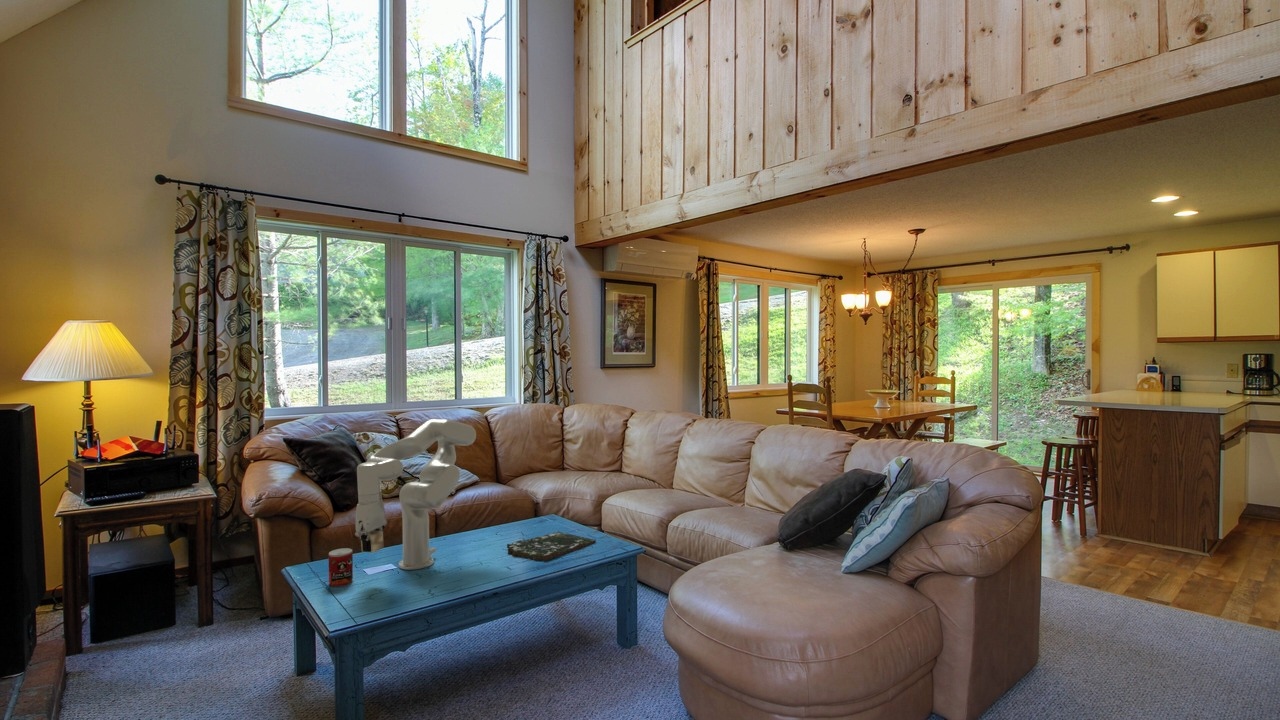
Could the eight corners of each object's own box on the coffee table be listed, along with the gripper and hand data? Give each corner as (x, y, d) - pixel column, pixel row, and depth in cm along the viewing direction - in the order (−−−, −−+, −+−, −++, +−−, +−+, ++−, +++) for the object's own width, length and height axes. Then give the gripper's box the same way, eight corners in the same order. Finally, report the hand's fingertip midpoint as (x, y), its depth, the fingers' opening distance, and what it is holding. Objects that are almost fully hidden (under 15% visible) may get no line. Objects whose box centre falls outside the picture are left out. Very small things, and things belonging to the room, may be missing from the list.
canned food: (329, 588, 209) (329, 556, 209) (327, 581, 216) (327, 550, 216) (354, 583, 213) (353, 552, 213) (351, 577, 220) (351, 546, 220)
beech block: (371, 546, 217) (371, 530, 217) (383, 547, 216) (382, 531, 215) (361, 551, 212) (360, 534, 212) (373, 552, 211) (372, 535, 211)
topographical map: (595, 543, 258) (595, 536, 258) (539, 565, 232) (539, 557, 232) (552, 533, 273) (552, 527, 273) (495, 552, 247) (495, 545, 247)
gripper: (378, 491, 222) (380, 539, 223) (343, 503, 206) (345, 556, 207) (395, 492, 220) (397, 541, 221) (361, 505, 204) (363, 558, 205)
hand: (372, 548), depth 214 cm, fingers closed on beech block, 5 cm apart
